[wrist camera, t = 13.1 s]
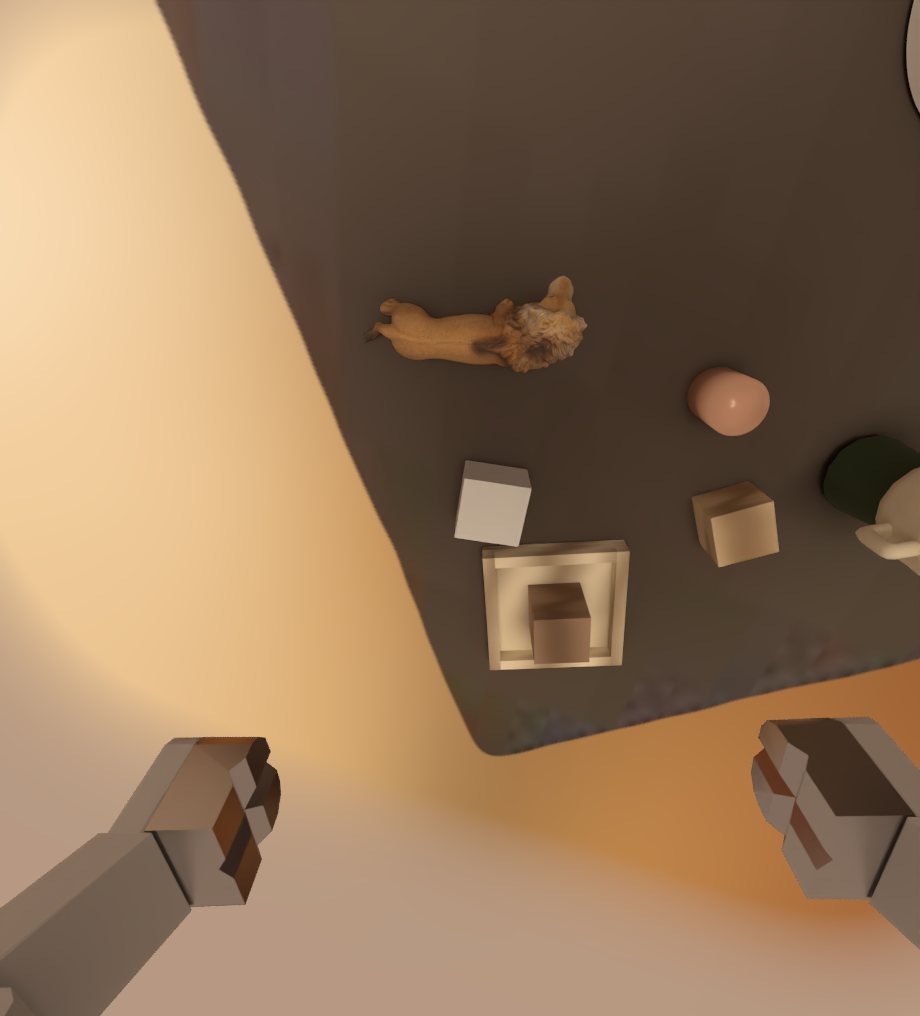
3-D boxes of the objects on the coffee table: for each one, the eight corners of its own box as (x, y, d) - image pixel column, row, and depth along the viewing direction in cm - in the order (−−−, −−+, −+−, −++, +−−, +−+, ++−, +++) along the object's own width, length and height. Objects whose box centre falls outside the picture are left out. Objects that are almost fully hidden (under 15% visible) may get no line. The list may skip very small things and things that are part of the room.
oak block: (747, 480, 42) (773, 501, 38) (753, 527, 44) (778, 551, 40) (690, 496, 43) (710, 518, 39) (699, 542, 44) (718, 567, 41)
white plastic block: (526, 468, 42) (531, 488, 38) (514, 523, 44) (518, 546, 40) (465, 459, 42) (464, 478, 38) (456, 514, 44) (454, 537, 40)
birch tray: (623, 539, 44) (629, 551, 42) (616, 650, 49) (621, 665, 48) (482, 546, 45) (482, 558, 43) (489, 655, 50) (490, 670, 48)
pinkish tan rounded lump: (746, 364, 38) (774, 375, 34) (737, 418, 40) (763, 434, 36) (690, 368, 38) (712, 379, 34) (683, 421, 40) (704, 437, 36)
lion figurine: (565, 270, 36) (592, 274, 27) (569, 350, 38) (594, 375, 30) (356, 301, 37) (321, 313, 29) (371, 377, 39) (344, 408, 31)
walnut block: (579, 582, 46) (591, 617, 41) (578, 623, 47) (589, 662, 43) (528, 584, 46) (533, 620, 41) (529, 625, 48) (534, 664, 43)
